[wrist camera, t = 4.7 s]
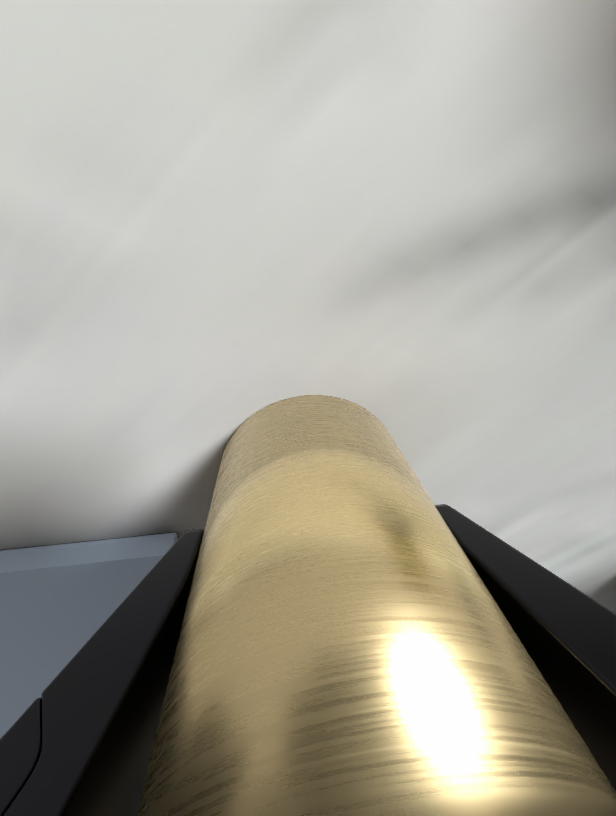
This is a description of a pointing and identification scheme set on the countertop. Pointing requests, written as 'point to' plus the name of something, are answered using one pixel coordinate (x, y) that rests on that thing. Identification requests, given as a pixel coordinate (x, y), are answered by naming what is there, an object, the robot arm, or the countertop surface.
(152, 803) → the gold metal cylinder
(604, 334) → the countertop surface
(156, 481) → the countertop surface
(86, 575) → the slate mat
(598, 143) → the countertop surface
